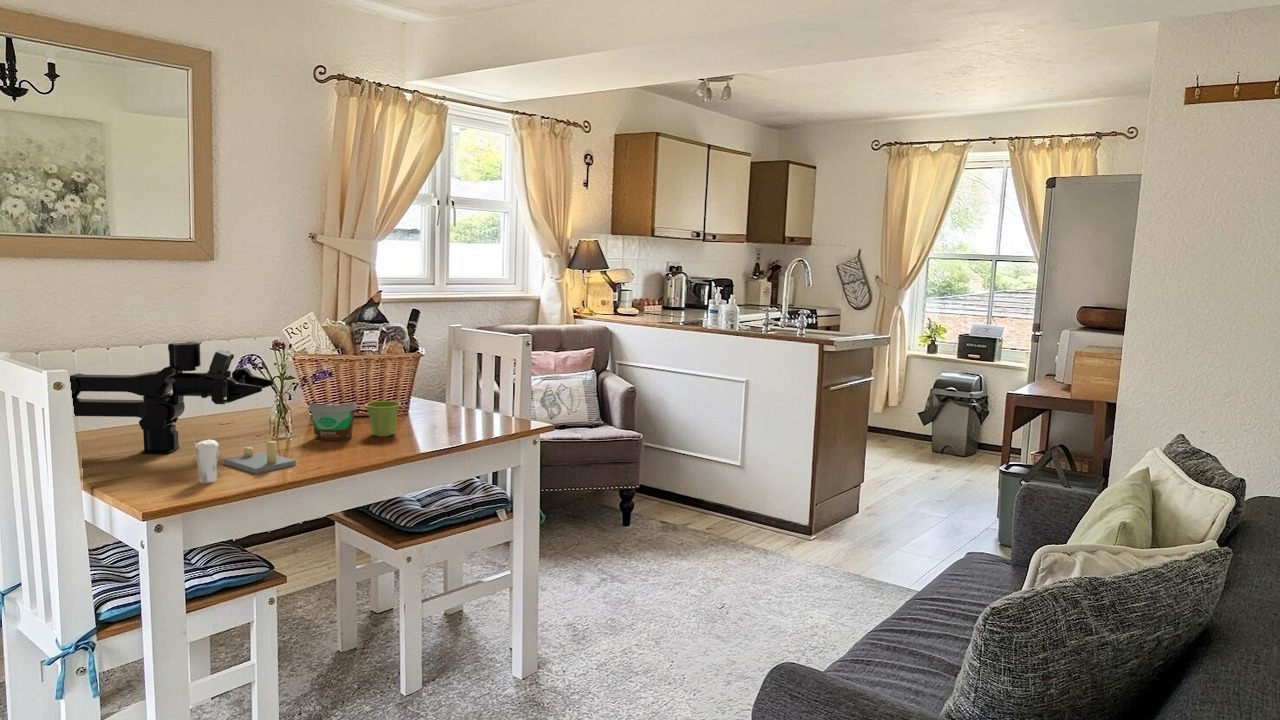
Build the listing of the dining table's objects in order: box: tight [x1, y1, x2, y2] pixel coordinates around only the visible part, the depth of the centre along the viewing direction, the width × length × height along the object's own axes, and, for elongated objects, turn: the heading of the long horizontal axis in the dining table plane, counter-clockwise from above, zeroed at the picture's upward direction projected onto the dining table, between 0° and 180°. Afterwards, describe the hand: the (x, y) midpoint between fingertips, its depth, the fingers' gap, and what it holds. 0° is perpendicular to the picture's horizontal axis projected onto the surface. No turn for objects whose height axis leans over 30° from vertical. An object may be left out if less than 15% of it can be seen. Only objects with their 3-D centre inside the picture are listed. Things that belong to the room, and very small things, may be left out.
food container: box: [308, 401, 358, 443], centre depth 220 cm, size 12×6×10 cm, turn 105°
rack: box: [223, 440, 297, 475], centre depth 194 cm, size 13×10×6 cm
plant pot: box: [364, 400, 402, 438], centre depth 228 cm, size 9×9×9 cm
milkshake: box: [191, 435, 220, 484], centre depth 179 cm, size 4×5×10 cm
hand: (267, 385), depth 204 cm, fingers open, 9 cm apart
